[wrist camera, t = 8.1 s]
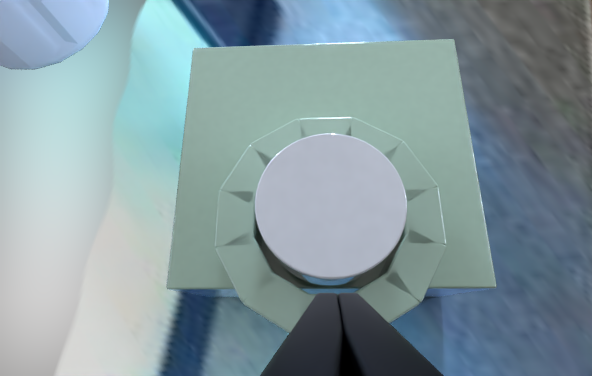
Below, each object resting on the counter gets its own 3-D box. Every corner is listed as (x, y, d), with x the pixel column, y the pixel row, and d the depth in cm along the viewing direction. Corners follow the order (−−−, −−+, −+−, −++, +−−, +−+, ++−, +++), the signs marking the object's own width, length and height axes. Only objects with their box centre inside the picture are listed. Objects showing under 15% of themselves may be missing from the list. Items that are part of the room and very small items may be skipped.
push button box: (445, 329, 17) (539, 339, 10) (208, 329, 17) (134, 338, 10) (418, 110, 21) (472, 3, 14) (223, 115, 21) (177, 15, 14)
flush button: (397, 285, 11) (415, 278, 9) (262, 285, 11) (251, 279, 9) (386, 160, 12) (400, 131, 10) (266, 162, 12) (257, 134, 10)
